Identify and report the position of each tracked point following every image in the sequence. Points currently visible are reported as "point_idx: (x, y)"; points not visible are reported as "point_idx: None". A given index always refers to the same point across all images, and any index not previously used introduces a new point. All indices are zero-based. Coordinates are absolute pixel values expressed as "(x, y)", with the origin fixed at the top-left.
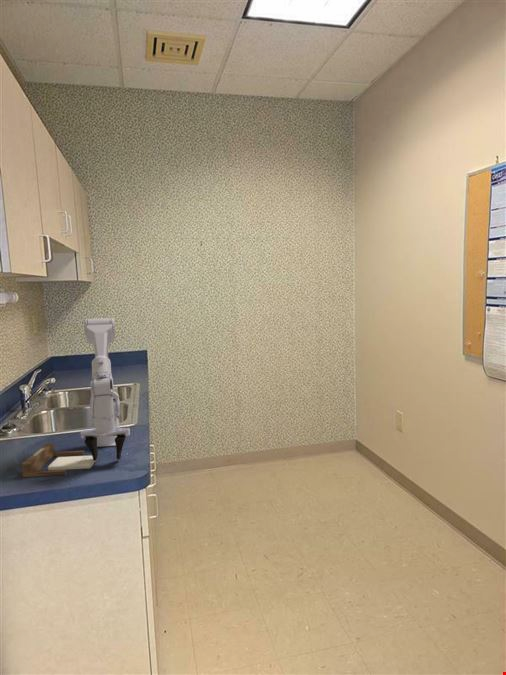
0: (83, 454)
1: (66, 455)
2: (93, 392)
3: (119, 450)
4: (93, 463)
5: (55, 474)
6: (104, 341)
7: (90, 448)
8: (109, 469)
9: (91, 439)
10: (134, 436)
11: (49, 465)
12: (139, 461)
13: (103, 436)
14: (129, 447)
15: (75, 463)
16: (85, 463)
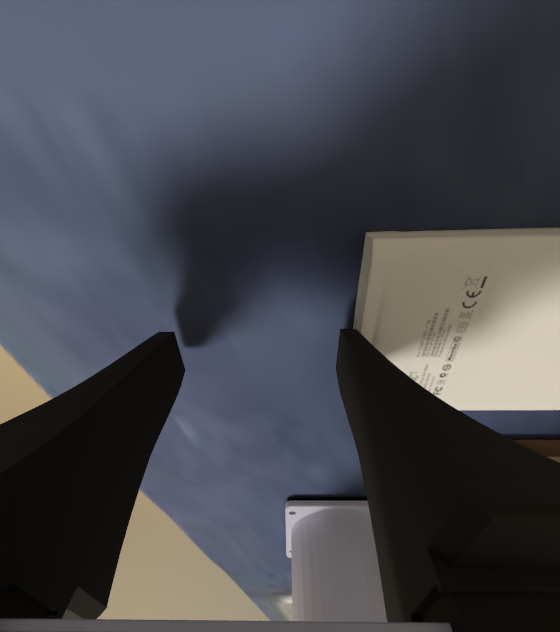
0: None
1: (536, 440)
2: None
3: (93, 377)
4: (356, 320)
5: None
6: None
7: (426, 403)
8: (176, 178)
9: (476, 565)
10: (243, 551)
11: None
12: (23, 319)
13: (256, 624)
14: (214, 484)
15: (510, 283)
16: (420, 275)
